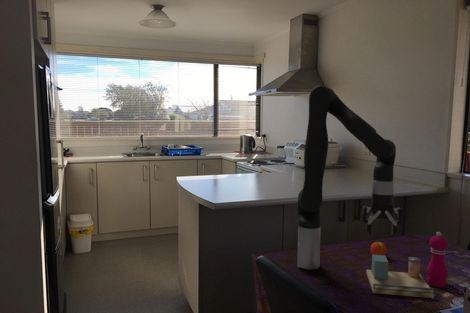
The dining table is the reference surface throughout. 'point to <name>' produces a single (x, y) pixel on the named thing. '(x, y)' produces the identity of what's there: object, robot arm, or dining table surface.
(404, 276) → the shelf board
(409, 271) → the spice jar
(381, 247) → the clementine
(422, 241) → the dining table surface
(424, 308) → the dining table surface
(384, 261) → the tea box
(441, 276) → the pepper mill
